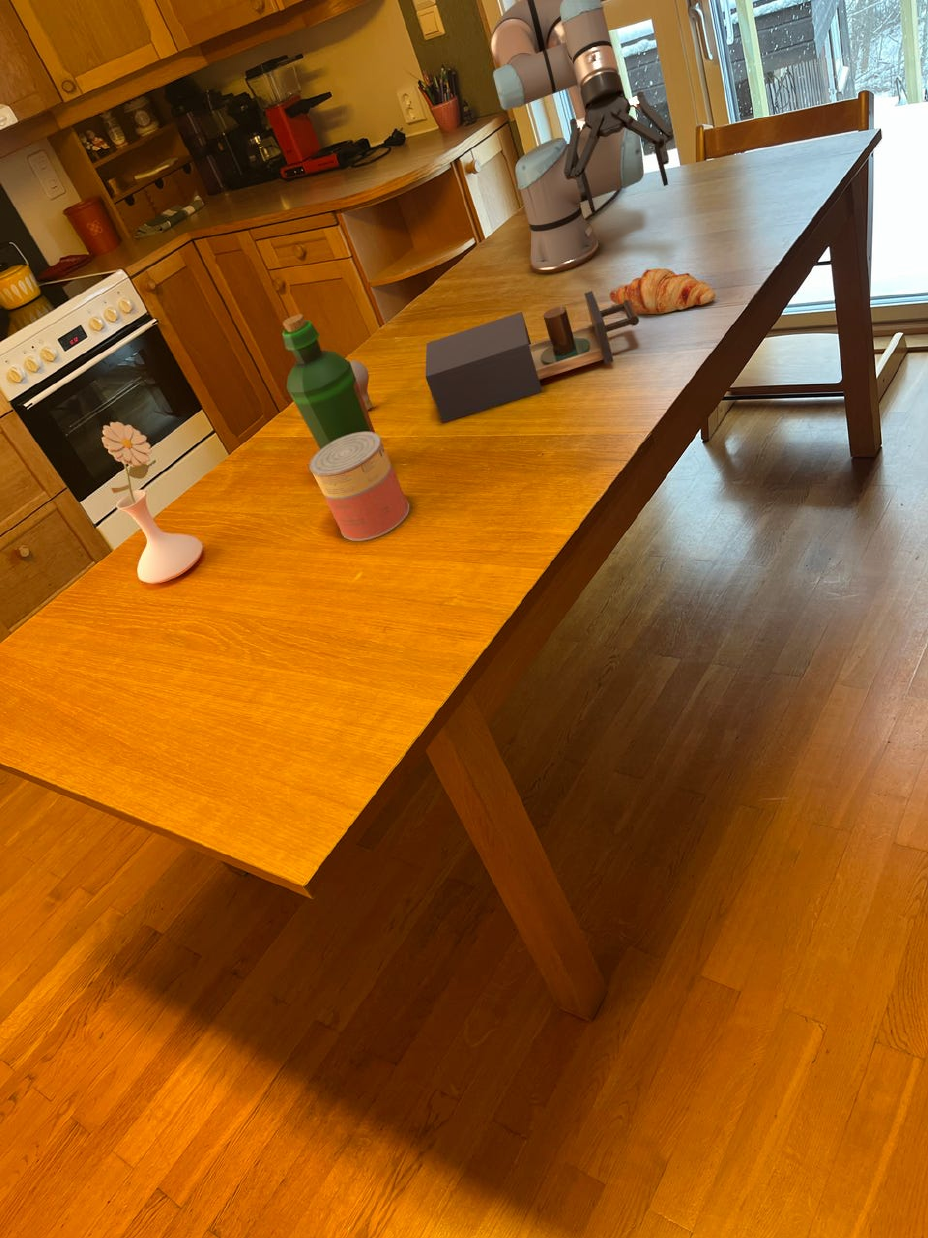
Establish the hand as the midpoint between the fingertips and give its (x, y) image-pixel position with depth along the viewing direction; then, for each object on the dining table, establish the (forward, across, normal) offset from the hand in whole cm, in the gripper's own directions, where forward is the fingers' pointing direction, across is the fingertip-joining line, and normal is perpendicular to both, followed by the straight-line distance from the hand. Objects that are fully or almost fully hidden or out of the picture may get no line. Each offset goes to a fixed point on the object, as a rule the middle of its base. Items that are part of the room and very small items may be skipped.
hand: (628, 196), depth 165 cm
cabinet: (+28, -32, -14) cm, 45 cm away
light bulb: (+24, -56, -10) cm, 62 cm away
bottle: (+39, -53, -31) cm, 73 cm away
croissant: (+21, +1, -1) cm, 21 cm away
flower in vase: (+45, -84, -43) cm, 105 cm away
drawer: (+27, -16, -14) cm, 34 cm away
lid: (+26, -17, -14) cm, 34 cm away
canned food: (+47, -49, -43) cm, 80 cm away
